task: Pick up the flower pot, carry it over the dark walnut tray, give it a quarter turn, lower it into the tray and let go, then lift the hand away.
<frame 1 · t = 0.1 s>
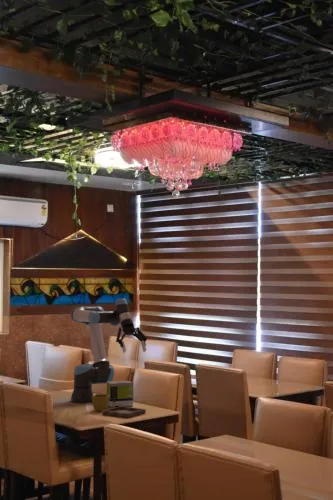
hand: (134, 351, 401), 36 cm above the table, tool tilted 35°, fingers open, 13 cm apart
tea box: (119, 405, 419), on the table
walnut tray: (124, 414, 391), on the table
flower pot: (100, 411, 401), on the table
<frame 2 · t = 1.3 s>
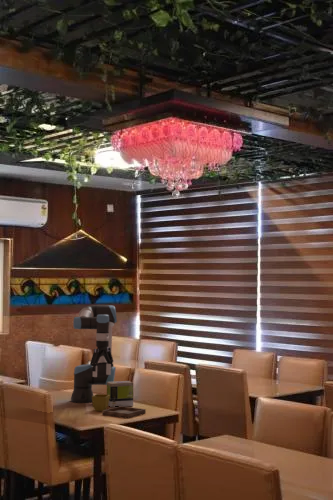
hand: (101, 375, 402), 21 cm above the table, tool pointing down, fingers open, 13 cm apart
nothing on the table moved.
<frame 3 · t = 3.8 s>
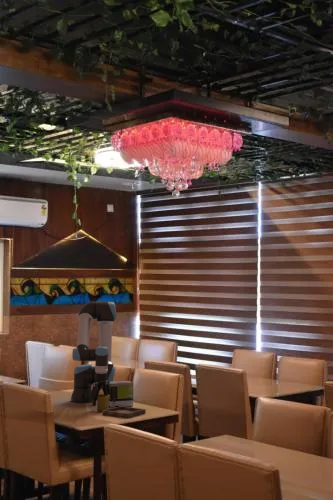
hand: (100, 410, 401), 0 cm above the table, tool pointing down, fingers closed on flower pot, 10 cm apart
flower pot: (100, 410, 401), on the table, touching gripper
everything else where it was.
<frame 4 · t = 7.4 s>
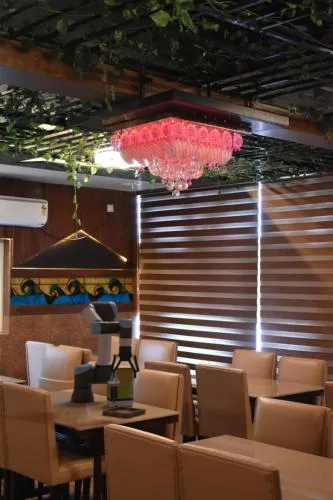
hand: (124, 383, 392), 18 cm above the table, tool pointing down, fingers closed on flower pot, 10 cm apart
flower pot: (124, 384, 392), point 17 cm above the table, touching gripper
everything else where it was.
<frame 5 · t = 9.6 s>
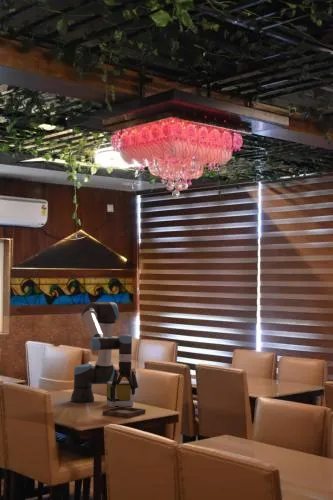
hand: (124, 399, 391), 9 cm above the table, tool pointing down, fingers closed on flower pot, 10 cm apart
flower pot: (124, 400, 391), point 8 cm above the table, touching gripper
everything else where it was.
when the fingers open (3 cm above the table, at t = 11.2 s): flower pot drops 2 cm, resting on walnut tray.
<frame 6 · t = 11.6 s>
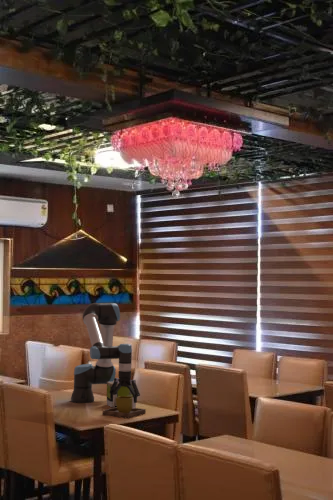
hand: (124, 407, 391), 4 cm above the table, tool pointing down, fingers open, 13 cm apart
flower pot: (124, 413, 390), point 1 cm above the table, touching walnut tray
everything else where it was.
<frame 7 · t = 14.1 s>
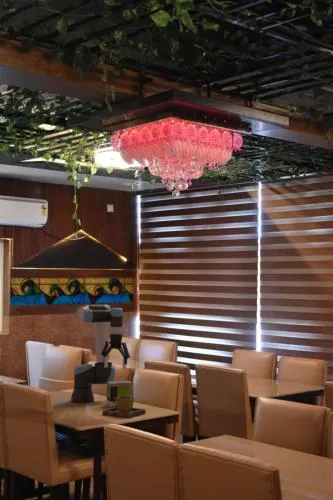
hand: (115, 368, 407), 25 cm above the table, tool pointing down, fingers open, 13 cm apart
nothing on the table moved.
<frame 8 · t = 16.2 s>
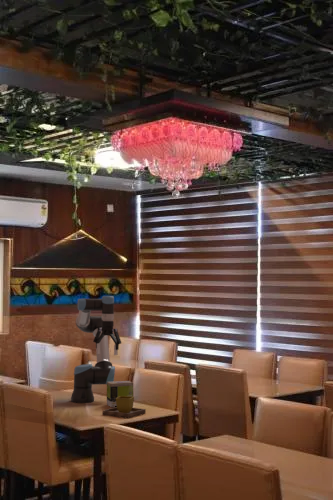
hand: (107, 354, 420), 32 cm above the table, tool pointing down, fingers open, 13 cm apart
nothing on the table moved.
at the end: flower pot inside the target area on the walnut tray (0.3 cm from its centre), point 0.6 cm above the walnut tray's base; flower pot tilted 0°; the gripper is holding nothing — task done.
